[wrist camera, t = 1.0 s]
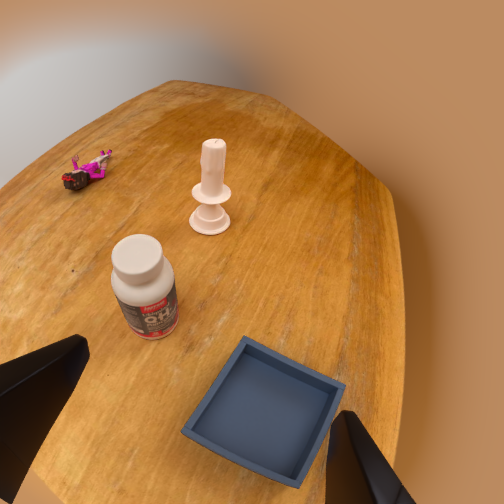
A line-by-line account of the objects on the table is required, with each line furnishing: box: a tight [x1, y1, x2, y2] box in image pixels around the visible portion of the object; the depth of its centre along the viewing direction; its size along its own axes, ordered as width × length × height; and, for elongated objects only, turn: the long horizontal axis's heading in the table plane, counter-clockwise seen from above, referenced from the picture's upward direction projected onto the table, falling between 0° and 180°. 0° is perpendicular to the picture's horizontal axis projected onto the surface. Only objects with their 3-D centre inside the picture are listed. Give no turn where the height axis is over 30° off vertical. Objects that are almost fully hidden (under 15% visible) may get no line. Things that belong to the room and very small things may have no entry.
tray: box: [181, 335, 346, 489], centre depth 21 cm, size 10×10×3 cm
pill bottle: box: [111, 234, 179, 340], centre depth 23 cm, size 5×5×10 cm
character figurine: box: [62, 149, 112, 190], centre depth 39 cm, size 6×5×12 cm
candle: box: [189, 139, 231, 235], centre depth 33 cm, size 5×5×12 cm
